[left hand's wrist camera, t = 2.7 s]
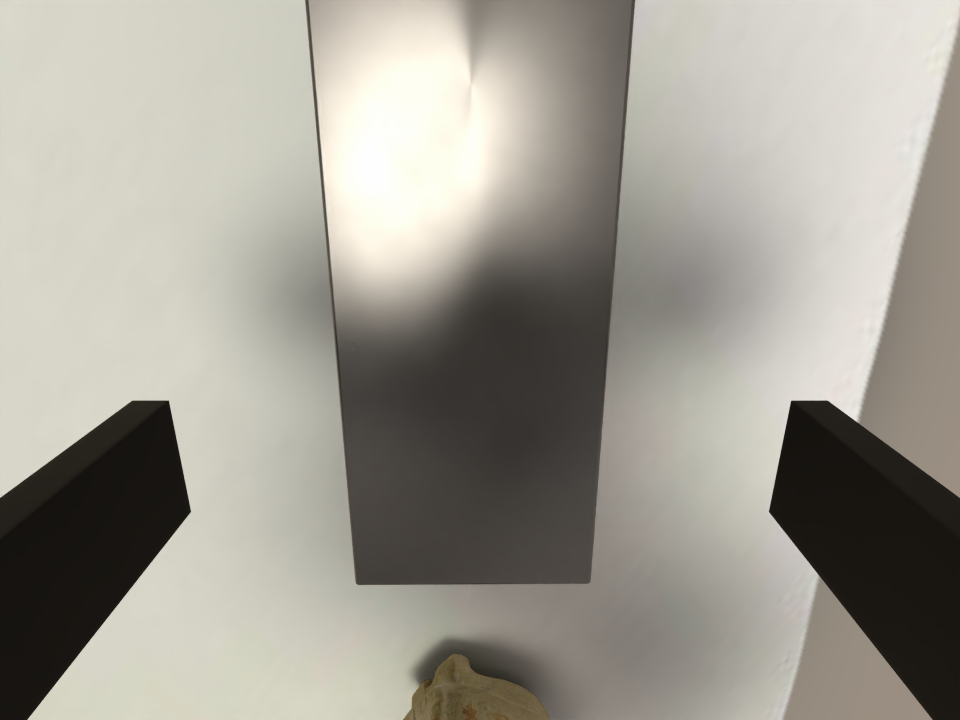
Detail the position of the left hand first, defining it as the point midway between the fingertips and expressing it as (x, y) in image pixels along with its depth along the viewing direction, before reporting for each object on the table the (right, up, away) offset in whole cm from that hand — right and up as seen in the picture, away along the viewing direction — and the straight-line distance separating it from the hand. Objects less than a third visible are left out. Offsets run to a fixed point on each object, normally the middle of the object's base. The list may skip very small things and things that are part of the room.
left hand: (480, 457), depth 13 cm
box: (0, +11, +9) cm, 14 cm away
